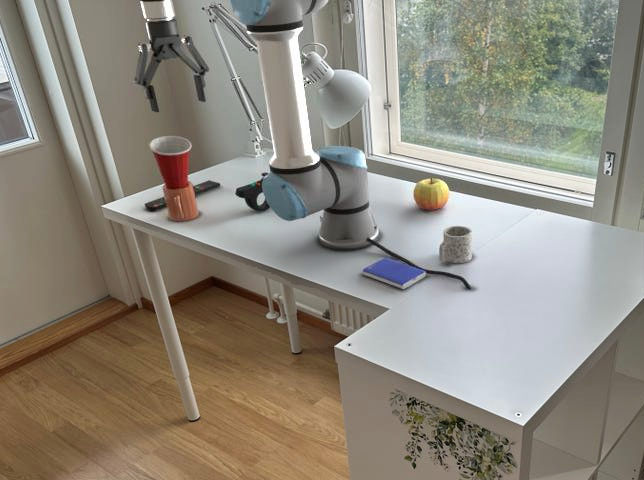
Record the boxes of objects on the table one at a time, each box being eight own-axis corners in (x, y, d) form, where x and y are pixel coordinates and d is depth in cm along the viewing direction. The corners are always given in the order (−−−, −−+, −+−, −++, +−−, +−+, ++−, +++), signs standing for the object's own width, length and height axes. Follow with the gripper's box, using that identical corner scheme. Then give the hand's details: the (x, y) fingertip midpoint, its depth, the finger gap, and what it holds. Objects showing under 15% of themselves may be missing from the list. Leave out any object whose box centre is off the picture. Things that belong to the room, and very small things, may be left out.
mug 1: (170, 212, 204) (163, 182, 199) (199, 209, 205) (192, 178, 200) (167, 227, 195) (159, 195, 190) (197, 223, 196) (190, 192, 191)
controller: (282, 206, 204) (277, 172, 199) (245, 219, 198) (239, 184, 192) (274, 203, 207) (269, 169, 202) (237, 215, 200) (230, 180, 195)
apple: (443, 198, 205) (443, 171, 200) (453, 210, 197) (453, 182, 192) (410, 203, 203) (409, 175, 198) (419, 215, 195) (418, 187, 190)
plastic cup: (173, 197, 191) (166, 154, 183) (148, 185, 196) (140, 143, 188) (205, 184, 198) (199, 143, 190) (180, 173, 203) (173, 132, 195)
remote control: (220, 187, 220) (219, 183, 219) (154, 212, 205) (153, 208, 204) (209, 184, 223) (209, 180, 222) (143, 208, 208) (142, 204, 207)
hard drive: (362, 269, 165) (402, 283, 158) (386, 256, 170) (425, 270, 163) (362, 275, 166) (402, 290, 159) (386, 262, 171) (426, 276, 164)
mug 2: (455, 249, 176) (454, 223, 172) (477, 255, 172) (477, 230, 168) (429, 263, 170) (428, 237, 166) (451, 270, 166) (451, 244, 162)
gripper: (197, 11, 188) (213, 94, 200) (106, 24, 174) (128, 113, 186) (212, 13, 183) (227, 98, 195) (118, 27, 169) (141, 118, 181)
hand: (179, 106), depth 190 cm, fingers open, 13 cm apart
